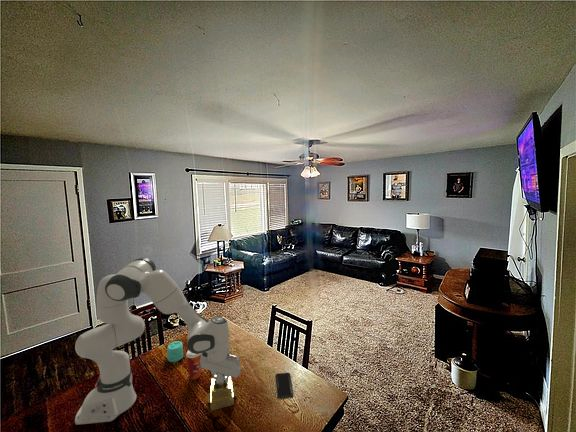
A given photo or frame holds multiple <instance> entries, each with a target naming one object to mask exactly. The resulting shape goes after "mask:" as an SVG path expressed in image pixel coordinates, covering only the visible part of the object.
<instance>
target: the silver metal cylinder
mask: <svg viewBox="0 0 576 432" xmlns="http://www.w3.org/2000/svg"><path fill="white" fill-rule="evenodd" d="M225 377H226V375H224V374H221V373H217V372H216V389H219V388H224V387H226V383H225V382H224V378H225Z"/></svg>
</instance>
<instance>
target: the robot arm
mask: <svg viewBox="0 0 576 432" xmlns="http://www.w3.org/2000/svg"><path fill="white" fill-rule="evenodd" d="M156 267H157V266H156V264H155V262H154V261H153V259H150V258H148V257H139V258H136V259H134V260H133V261H131V262H130V263H128V264H126V265H125V266H123V267H122V268H121V269H120V270H119V271H118V272H116V273H115V274H114V273H112V274H108V275H106V276H104V277H103V278H102V279H100V281H99V283H98V285H97V286H98V287H97V291H96V318H97V319H98V321H100V322H102V323H103V325H101V326H97V327H94V328H92V329H90V330H87V331H85V332H84V333H82V334H80V335H79V336H78V338H77V339H76V341H75V346H74V349H75V352H76V354H77V356H79V357H81V358H83V359H89V360H92V361H93V362H94V363H95V364H97V366H98V369H99V376H98V379H97V380H96V382H95V385H94V388H93V389H92V390H91V391H89V392H88V394H87V395H86V397H85V398H84V400H83V402H82V405H81V406H80V408H79V409H78V410H77V412H76V415H75V418H74V424H75V425H76V426H77V425H87V424H99V423H109V422H112V421H114V420H115V419H116V418H117V417H119V416H120V415H121V414H123V413H124V412H126V411H127V410H129V409H130V408H131V407H132V406H133V405H134V403H135V402H136V400H137V393H136V391H135V389H134V386H133V374H132V368H131V365H130V355H129V353H128V352H126V351H124V350H114V349H115V348H118V347H120V346H122V345H125V344H127V343H129V342H132V341H134V340H135V339H138V338H139V337H141V336H142V335H143V334H144V332H145V328H146V325H145V321H144V319H143V318H142V317H141V316H139V315H135V314H134V313H132V312H131V311H130V309H129V300H130V299H135V298H138V297H140V295H141V294H145V295H147V297H148V298H149V299H150V301H151V302H152V304H153V305H154V306H155V307H156V309H158V310H159V312H161V313H162V314H163V315H173V314H177V315H178V316H179V317H180V319H182V321H183V322H184V324H186V326H187V332H188V333H187V342H186V347H187V351H188V350H189V351H190V352H192V353H194V354H200V353H201V359H200V364H201V369H204V370H207V371H210V373H211V375H212V378H213V379H216V372H217V373H221V374H224V375H226V377H225V378H224V382H225V383H228V381H229V376H231V378H235V379H236V378H238V377H239V376H240V374H241V373H242V367H241V359H240V358H239V357H238V356H237V355H233V354H231V350H230V342H229V341H230V327H229V322H228V320H227V319H226V318H224V317H222V316H214V317H211V318H210V320H208V319H206V318H205V317H203V316H201V315H200V314H199V313H197V311H196V310H195V308H194V307H193V306H192V305H191V303H190V302H189V301H188V300H187V297H186V296H185V295H184V293H183V291H182V290H181V287H180V286H179V284H177V282H176V281H175V280H174V279H173V278H172V277H171V275H170V274H168V272H166V271H165V270H163V269H157V268H156Z"/></svg>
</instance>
